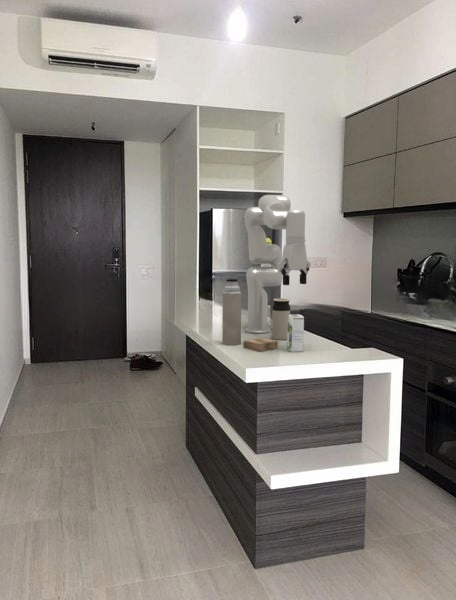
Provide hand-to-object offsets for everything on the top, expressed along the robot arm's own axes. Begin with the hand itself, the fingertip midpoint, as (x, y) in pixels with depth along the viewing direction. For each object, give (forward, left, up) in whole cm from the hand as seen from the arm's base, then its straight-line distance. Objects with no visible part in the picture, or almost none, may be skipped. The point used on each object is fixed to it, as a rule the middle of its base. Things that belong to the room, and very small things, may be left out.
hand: (294, 284), depth 215 cm
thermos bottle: (+11, -26, -27) cm, 39 cm away
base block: (+8, -11, -27) cm, 30 cm away
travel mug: (-14, -21, -27) cm, 37 cm away
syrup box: (0, +1, -27) cm, 27 cm away
